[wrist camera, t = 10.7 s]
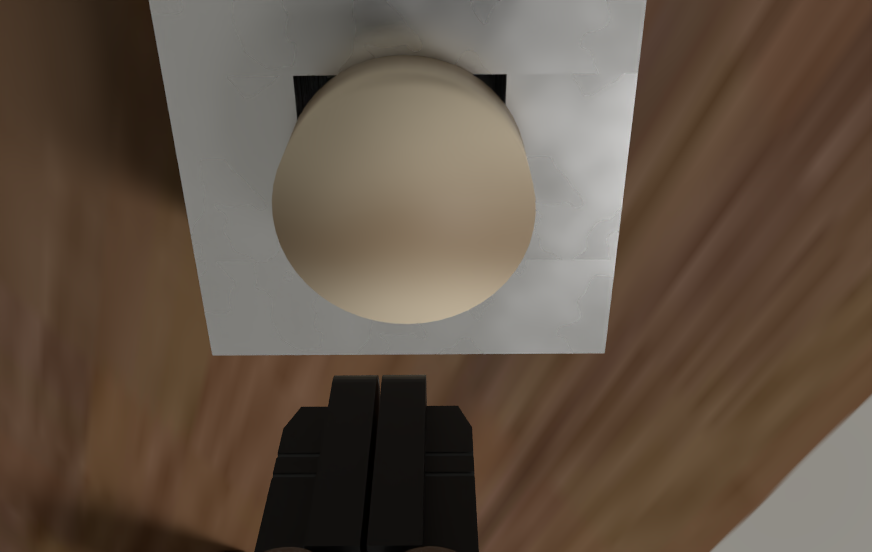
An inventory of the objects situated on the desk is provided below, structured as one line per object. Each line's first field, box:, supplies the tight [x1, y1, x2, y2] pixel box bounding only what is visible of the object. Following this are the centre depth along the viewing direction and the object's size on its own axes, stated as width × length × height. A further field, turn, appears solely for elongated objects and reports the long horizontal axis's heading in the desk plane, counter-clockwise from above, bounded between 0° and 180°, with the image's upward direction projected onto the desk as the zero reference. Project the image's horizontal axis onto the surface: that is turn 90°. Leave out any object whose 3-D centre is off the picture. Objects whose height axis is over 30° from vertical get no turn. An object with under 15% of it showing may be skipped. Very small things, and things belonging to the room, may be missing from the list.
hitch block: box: [149, 0, 646, 355], centre depth 25 cm, size 18×14×7 cm
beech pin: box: [272, 55, 536, 324], centre depth 24 cm, size 6×6×8 cm
